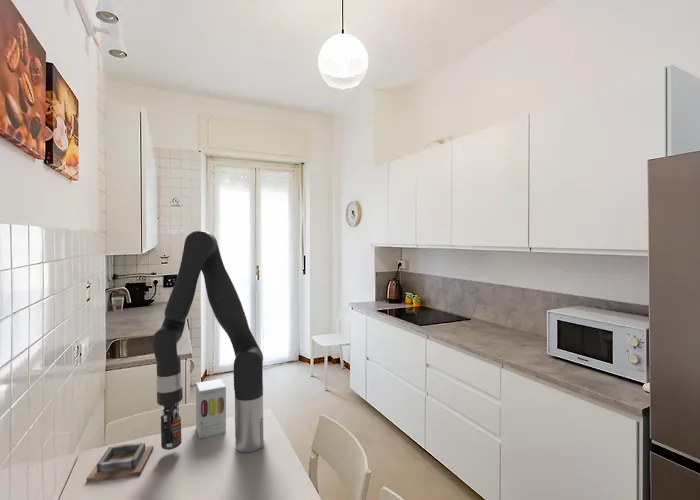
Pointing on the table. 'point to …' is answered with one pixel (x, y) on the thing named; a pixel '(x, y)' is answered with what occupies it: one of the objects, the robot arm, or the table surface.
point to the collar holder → (121, 462)
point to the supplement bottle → (176, 434)
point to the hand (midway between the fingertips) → (171, 437)
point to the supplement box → (210, 408)
